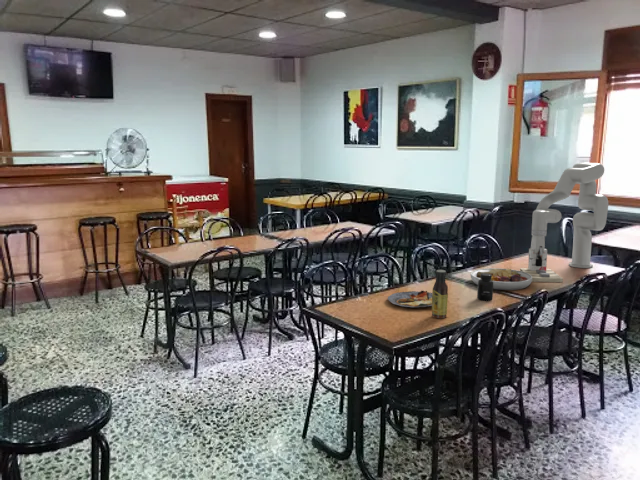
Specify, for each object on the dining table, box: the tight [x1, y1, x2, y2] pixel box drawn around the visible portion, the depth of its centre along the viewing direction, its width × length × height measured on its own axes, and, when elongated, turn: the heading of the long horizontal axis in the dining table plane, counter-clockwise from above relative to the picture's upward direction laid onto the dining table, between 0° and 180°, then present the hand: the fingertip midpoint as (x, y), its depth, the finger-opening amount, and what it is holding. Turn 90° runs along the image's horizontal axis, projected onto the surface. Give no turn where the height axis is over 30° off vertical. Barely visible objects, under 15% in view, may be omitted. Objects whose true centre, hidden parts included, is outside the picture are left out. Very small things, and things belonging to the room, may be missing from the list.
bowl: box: [470, 267, 533, 291], centre depth 263 cm, size 30×30×8 cm
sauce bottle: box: [431, 269, 449, 319], centre depth 211 cm, size 6×6×20 cm
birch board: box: [519, 267, 564, 283], centre depth 275 cm, size 22×16×2 cm
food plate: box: [387, 290, 432, 308], centre depth 233 cm, size 25×23×4 cm
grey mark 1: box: [536, 270, 546, 274], centre depth 274 cm, size 4×4×2 cm
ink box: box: [527, 247, 548, 271], centre depth 282 cm, size 9×5×12 cm, turn 83°
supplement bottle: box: [476, 273, 494, 302], centre depth 235 cm, size 7×7×12 cm
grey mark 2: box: [539, 273, 550, 277], centre depth 268 cm, size 4×4×2 cm
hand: (537, 264), depth 282 cm, fingers closed on ink box, 5 cm apart
